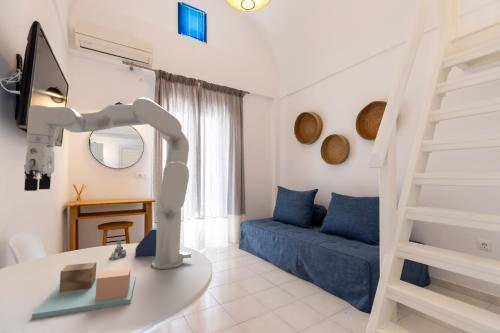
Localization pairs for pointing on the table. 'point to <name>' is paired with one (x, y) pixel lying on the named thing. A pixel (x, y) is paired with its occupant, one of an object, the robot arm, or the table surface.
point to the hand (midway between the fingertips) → (37, 190)
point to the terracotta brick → (112, 284)
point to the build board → (78, 301)
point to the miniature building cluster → (118, 251)
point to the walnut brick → (77, 277)
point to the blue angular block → (147, 245)
